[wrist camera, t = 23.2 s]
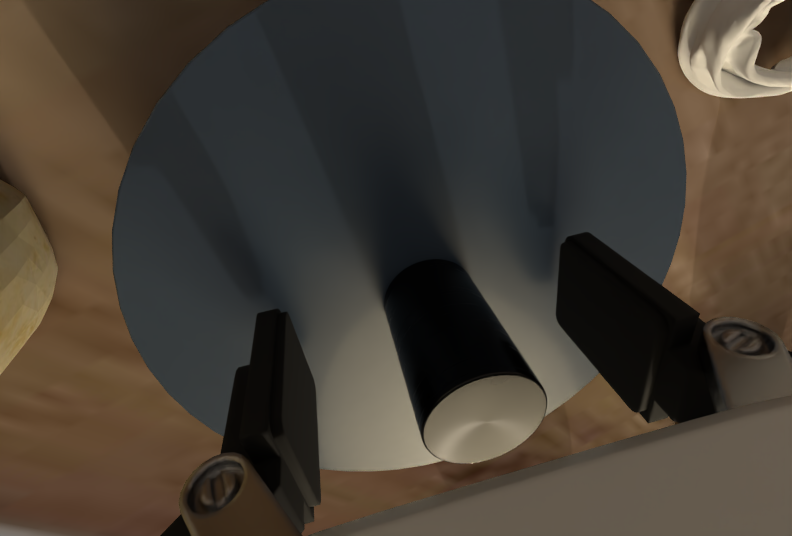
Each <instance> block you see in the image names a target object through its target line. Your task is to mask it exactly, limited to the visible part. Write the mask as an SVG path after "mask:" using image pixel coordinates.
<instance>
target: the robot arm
mask: <svg viewBox="0 0 792 536" xmlns="http://www.w3.org/2000/svg"><path fill="white" fill-rule="evenodd" d="M699 315H700V313H698V312H697V311H696V310H694V309H693V308H692V307H690V306H689V305H687V304H686V303H685V302H683V301H682V300H681V299H679V298H678V297H677V296H675V295H674V294H672V293H671V292H670V291H668V290H667V289H666V288H664V287H663V286H662V285H660V284H659V283H658V282H656V281H655V280H653V279H652V278H651V277H649V276H648V275H647V274H645V273H644V272H643V271H641V270H640V269H638V268H637V267H636V266H634V265H633V264H632V263H630V262H629V261H628V260H626V259H625V258H624V257H622V256H621V255H619V254H618V253H617V252H615V251H614V250H613V249H611V248H610V247H609V246H607V245H606V244H604V243H603V242H602V241H600V240H599V239H598V238H596V237H595V236H594V235H592V234H591V233H589V232H584V233H579V234H575V235H571V236H568V237H567V238H566V239H565V242H564V243H562V244H561V246H560V256H559V271H558V287H557V302H556V319H557V322H558V324H559V325H560V327H561V328H562V329H563V330H564V331H565V333H566V334H567V335H568V336H569V337H570V339H571V340H572V341H573V342H574V343H575V344H576V346H577V347H578V348H579V349H580V350H581V352H582V353H583V354H584V355H585V356H586V357H587V359H588V360H589V361H590V362H591V363H592V364H593V366H594V367H595V368H596V369H597V370H598V372H599V373H600V374H601V375H602V376H603V377H604V379H605V380H606V381H607V382H608V383H609V384H610V386H611V387H612V388H613V389H614V390H615V392H616V393H617V394H618V395H619V396H620V397H621V399H622V400H623V401H624V402H625V403H626V405H627V406H628V407H629V408H630V409H631V410H632V411H634V412H639V413H640V414H641V415H642V416H643V418H644V419H645V420H646V421H647V422H648V423H651V422H654V421H658V420H661V419H665V418H668V416H669V417H670V418H671V419H672V420H673V421H675V425H672V426H669V427H665V428H662V429H659V430H655V431H652V432H648V433H645V434H641V435H638V436H634V437H631V438H627V439H624V440H620V441H617V442H614V443H610V444H607V445H603V446H600V447H596V448H593V449H590V450H586V451H583V452H579V453H576V454H573V455H569V456H566V457H562V458H559V459H556V460H552V461H549V462H545V463H542V464H539V465H535V466H532V467H528V468H525V469H522V470H518V471H515V472H512V473H508V474H505V475H501V476H498V477H495V478H491V479H488V480H485V481H481V482H478V483H475V484H471V485H468V486H465V487H461V488H458V489H455V490H451V491H448V492H445V493H441V494H438V495H435V496H431V497H428V498H425V499H421V500H418V501H415V502H411V503H408V504H405V505H402V506H398V507H395V508H392V509H388V510H385V511H382V512H379V513H376V514H372V515H369V516H366V517H363V518H360V519H357V520H354V521H351V522H347V523H344V524H341V525H338V526H335V527H332V528H329V529H326V530H322V531H319V532H317V533H314V534H311V535H308V536H792V352H790V351H787V349H786V347H785V345H784V343H783V341H782V340H781V339H780V338H779V336H778V335H777V334H775V333H774V332H773V331H771V330H770V329H769V328H767V327H765V326H763V325H761V324H759V323H756V322H753V321H750V320H747V319H742V318H736V317H720V318H715V319H712V320H710V321H708V322H707V323H705V322H703V321H702V320H701V319H699ZM320 503H321V490H320V468H319V445H318V423H317V401H316V387H315V382H314V378H313V376H312V373H311V370H310V368H309V365H308V363H307V360H306V358H305V355H304V352H303V350H302V347H301V345H300V342H299V339H298V337H297V334H296V332H295V329H294V326H293V324H292V321H291V319H290V316H289V314H288V312H287V311H286V312H282V313H281V311H280V310H279V309H278V308H277V309H273V310H269V311H264V312H260V313H258V314H257V316H256V323H255V330H254V337H253V344H252V351H251V358H250V365H246V366H242V367H238V369H237V370H236V373H235V377H234V383H233V388H232V394H231V399H230V405H229V411H228V416H227V422H226V427H225V433H224V438H223V444H222V449H221V454H219V455H217V456H214V457H212V458H210V459H209V460H207V461H205V462H204V463H202V464H201V465H200V466H199V467H198V468H197V469H196V470H194V471H193V473H192V474H191V475H190V477H189V478H188V479H187V480H186V482H185V484H184V486H183V488H182V490H181V493H180V498H179V508H180V513H181V515H180V516H179V517H178V518H177V519H176V520H175V521H174V522H173V523H172V524H171V525H170V526H169V527H168V528H167V529H166V530H165V531H164V532H163V533H162V535H161V536H302V534H301V533H302V532H303V530H304V524H306V523H310V522H313V521H314V506H316V505H320Z"/></svg>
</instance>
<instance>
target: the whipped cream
mask: <svg viewBox="0 0 792 536" xmlns="http://www.w3.org/2000/svg"><path fill="white" fill-rule="evenodd" d="M783 1H785V0H695V1H694V2H693V4H692V5H691V7H690V9H689V11H688V12H687V14H686V16H685V18H684V21H683V24H682V27H681V31H680V40H679V44H678V58H679V64H680V66H681V69H682V71H683V73H684V75H685V76H686V77H687V79H688V80H689V81H690V82H691V83H692V84H693V85H694V86H695V87H697V88H698V89H699V90H701V91H703V92H705V93H707V94H710V95H714V96H718V97H725V98H754V97H766V96H776V95H781V94H785V93H788V92H791V91H792V56H791V57H789V58H787V59H784V60H781V61H780V62H778V63H777V64H775V65H774V66H773V67H772V68H771V69H772V70H770V69H766V68H763V67H760V66H757V65H755V61H756V58H757V54H758V51H759V48H760V45H761V41H762V37H761V35H760V33H759V32H758V31H756V30H753V29H754V28H755V27H756V26H757V25H759V24H760V23H761V22H762V21H763V20H764V18H765V17H766V16H767V15H768V13H769V10H770V8H771V7H773V6H775V5H777V4H779V3H781V2H783Z"/></svg>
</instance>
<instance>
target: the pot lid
mask: <svg viewBox="0 0 792 536" xmlns="http://www.w3.org/2000/svg"><path fill="white" fill-rule="evenodd" d="M685 194H686V164H685V154H684V144H683V138H682V134H681V130H680V126H679V122H678V118H677V115H676V111H675V107H674V105H673V102H672V100H671V98H670V96H669V93H668V91H667V89H666V87H665V84H664V82H663V80H662V78H661V76H660V74H659V72H658V71H657V69H656V68H655V66H654V65H653V63H652V62H651V60H650V59H649V57H648V56H647V54H646V53H645V51H644V50H643V48H642V47H641V46H640V44H639V43H638V41H637V40H636V39H635V38H634V37H633V36H632V35H631V34H630V33H629V32H628V31H627V30H626V29H625V28H624V27H623V26H622V25H621V24H620V23H619V22H618V21H617V20H616V19H615V18H614V17H613V16H612V15H611V14H610V13H609V12H607V11H606V10H604V9H603V8H601V7H600V6H599V5H597V4H596V3H594V2H593V1H591V0H268V1H266V2H264V3H263V4H261V5H260V6H258V7H257V8H255V9H254V10H252V11H251V12H249V13H248V14H246V15H245V16H243V17H242V18H240V19H239V20H237V21H236V22H234V23H232V24H231V25H229V26H228V27H227V28H226V29H225V30H224V31H222V32H221V33H220V34H219V35H218V36H217V37H216V38H215V39H214V40H213V41H212V42H210V43H209V44H208V45H207V46H206V47H205V48H204V49H203V50H202V51H201V52H200V53H198V54H197V55H196V56H195V57H194V58H193V59H192V60H191V61H190V62H189V63H188V64H187V65H186V66H185V68H184V69H183V70H182V71H181V73H180V74H179V75H178V77H177V78H176V79H175V80H174V82H173V83H172V84H171V86H170V87H169V88H168V89H167V91H166V92H165V93H164V94H163V96H162V97H161V98H160V100H159V101H158V102H157V103H156V105H155V107H154V109H153V111H152V113H151V114H150V116H149V118H148V120H147V122H146V124H145V125H144V127H143V129H142V131H141V133H140V135H139V136H138V138H137V140H136V142H135V144H134V146H133V148H132V151H131V154H130V157H129V160H128V163H127V166H126V169H125V172H124V175H123V178H122V181H121V183H120V186H119V190H118V196H117V202H116V209H115V215H114V222H113V228H112V255H113V274H114V279H115V284H116V290H117V295H118V300H119V305H120V309H121V311H122V314H123V317H124V319H125V322H126V325H127V327H128V330H129V333H130V335H131V338H132V340H133V342H134V344H135V346H136V347H137V349H138V351H139V353H140V354H141V356H142V358H143V360H144V361H145V363H146V365H147V367H148V368H149V370H150V371H151V372H152V373H153V375H154V376H155V377H156V379H157V380H158V381H159V382H160V384H161V385H162V386H163V387H164V389H165V390H166V391H167V392H168V393H169V394H170V395H171V396H172V397H173V398H174V399H175V400H176V401H177V402H178V403H179V404H180V405H181V406H182V407H183V408H184V409H185V410H187V411H188V412H189V413H190V414H191V415H192V416H194V417H195V418H196V419H198V420H199V421H201V422H202V423H203V424H205V425H206V426H208V427H209V428H210V429H212V430H213V431H215V432H216V433H218V434H220V435H222V436H224V433H225V427H226V422H227V416H228V411H229V405H230V399H231V394H232V388H233V383H234V377H235V373H236V370H237V369H238V367H242V366H246V365H250V358H251V351H252V344H253V337H254V330H255V323H256V316H257V314H258V313H260V312H264V311H269V310H273V309H277V308H278V309H279V310H280V311H281V313H282V312H286V311H287V312H288V314H289V316H290V319H291V321H292V324H293V326H294V329H295V332H296V334H297V337H298V339H299V342H300V345H301V347H302V350H303V352H304V355H305V358H306V360H307V363H308V365H309V368H310V370H311V373H312V376H313V378H314V382H315V387H316V401H317V423H318V445H319V468H320V469H328V470H339V471H383V470H396V469H404V468H410V467H416V466H422V465H428V464H432V463H436V462H440V461H446V462H451V463H458V464H467V463H476V462H482V461H486V460H489V459H492V458H495V457H498V456H500V455H503V454H505V453H507V452H509V451H511V450H512V449H514V448H516V447H517V446H519V445H520V444H521V443H523V442H524V441H525V440H526V439H528V438H529V437H530V436H531V435H532V434H533V433H534V432H535V430H536V429H537V428H538V427H539V425H540V424H541V422H542V420H543V418H544V416H546V415H548V414H549V413H551V412H552V411H553V410H555V409H556V408H558V407H559V406H560V405H562V404H563V403H565V402H566V401H567V400H569V399H570V398H571V397H572V396H574V395H575V394H576V393H577V392H578V391H580V390H581V389H582V388H583V387H584V386H585V385H587V384H588V383H589V382H590V381H591V380H592V379H593V378H594V377H595V376H596V375H597V374H598V373H599V372H598V370H597V369H596V368H595V367H594V366H593V364H592V363H591V362H590V361H589V360H588V359H587V357H586V356H585V355H584V354H583V353H582V352H581V350H580V349H579V348H578V347H577V346H576V344H575V343H574V342H573V341H572V340H571V339H570V337H569V336H568V335H567V334H566V333H565V331H564V330H563V329H562V328H561V327H560V325H559V324H558V322H557V319H556V302H557V287H558V271H559V256H560V246H561V244H562V243H564V242H565V239H566V238H567V237H568V236H571V235H575V234H579V233H584V232H589V233H591V234H592V235H594V236H595V237H596V238H598V239H599V240H600V241H602V242H603V243H604V244H606V245H607V246H609V247H610V248H611V249H613V250H614V251H615V252H617V253H618V254H619V255H621V256H622V257H624V258H625V259H626V260H628V261H629V262H630V263H632V264H633V265H634V266H636V267H637V268H638V269H640V270H641V271H643V272H644V273H645V274H647V275H648V276H649V277H651V278H652V279H653V280H655V281H656V282H658V283H659V284H660V285H662V283H663V281H664V279H665V276H666V274H667V272H668V269H669V267H670V265H671V262H672V258H673V255H674V252H675V249H676V245H677V242H678V239H679V236H680V230H681V224H682V219H683V213H684V208H685Z"/></svg>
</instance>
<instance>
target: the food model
mask: <svg viewBox="0 0 792 536" xmlns="http://www.w3.org/2000/svg"><path fill="white" fill-rule="evenodd" d="M57 272H58V267H57V263H56V260H55V257H54V253H53V250H52V247H51V245H50V243H49V240H48V238H47V236H46V234H45V232H44V230H43V228H42V226H41V224H40V222H39V220H38V218H37V216H36V214H35V212H34V211H33V209H32V207H31V205H30V203H29V201H28V199H27V198H26V196H25V195H24V194H23V193H22V192H20V191H19V190H18V189H16V188H15V187H13V186H11V185H9V184H7V183H6V182H4V181H2V180H0V375H1V373H2V372H3V371H4V370H5V368H6V367H7V366H8V364H9V363H10V362H11V361H12V359H13V358H14V357H15V356H16V354H17V353H18V352H19V350H20V349H21V348H22V347H23V345H24V344H25V343H26V341H27V340H28V339H29V337H30V336H31V335H32V333H33V332H34V331H35V330H36V328H37V327H38V326H39V325H40V323H41V321H42V319H43V316H44V314H45V312H46V310H47V308H48V306H49V304H50V301H51V299H52V296H53V292H54V287H55V282H56V277H57Z"/></svg>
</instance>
